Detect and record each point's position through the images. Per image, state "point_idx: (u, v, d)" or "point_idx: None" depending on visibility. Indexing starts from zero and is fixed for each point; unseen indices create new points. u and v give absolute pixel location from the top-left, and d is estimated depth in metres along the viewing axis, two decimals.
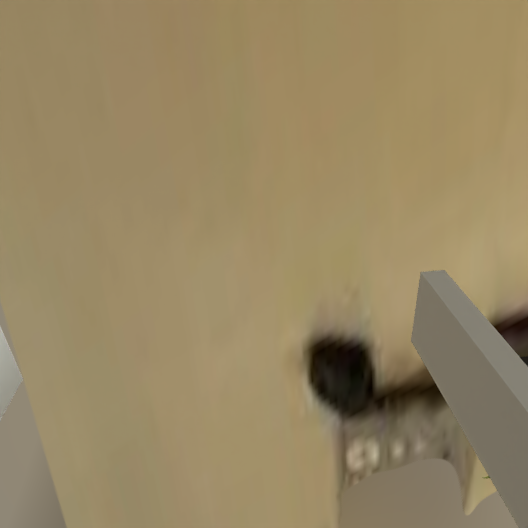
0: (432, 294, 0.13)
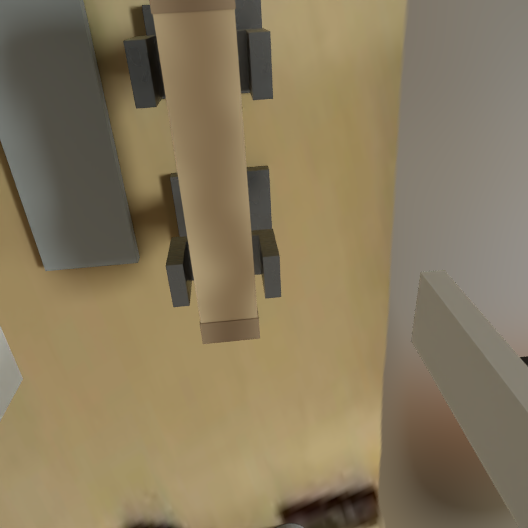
0: (432, 293, 0.13)
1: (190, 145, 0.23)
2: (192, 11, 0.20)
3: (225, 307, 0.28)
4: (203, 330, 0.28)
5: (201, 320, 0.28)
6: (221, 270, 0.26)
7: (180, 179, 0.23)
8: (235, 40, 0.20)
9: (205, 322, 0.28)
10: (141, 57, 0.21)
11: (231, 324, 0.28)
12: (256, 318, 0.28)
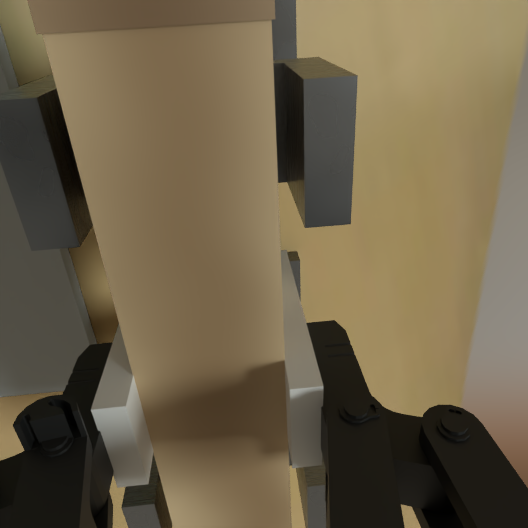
0: None
1: (160, 328, 0.10)
2: (153, 26, 0.07)
3: None
4: None
5: None
6: (228, 521, 0.14)
7: (140, 388, 0.11)
8: (271, 101, 0.08)
9: None
10: (31, 140, 0.08)
11: None
12: None
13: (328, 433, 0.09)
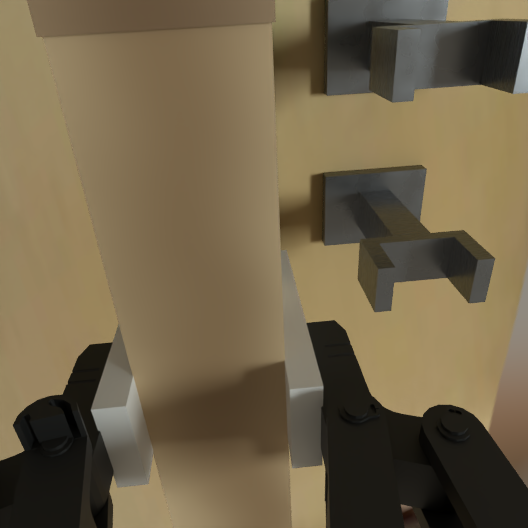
0: None
1: (160, 329, 0.10)
2: (154, 29, 0.07)
3: None
4: None
5: None
6: (228, 522, 0.14)
7: (140, 390, 0.11)
8: (271, 104, 0.08)
9: None
10: (412, 47, 0.20)
11: None
12: None
13: (328, 433, 0.09)
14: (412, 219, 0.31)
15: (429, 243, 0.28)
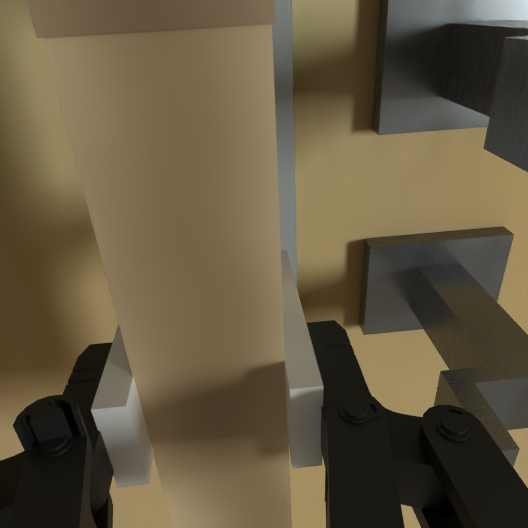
0: None
1: (160, 330, 0.10)
2: (154, 30, 0.07)
3: None
4: None
5: None
6: (228, 523, 0.14)
7: (141, 391, 0.11)
8: (271, 105, 0.08)
9: None
10: None
11: None
12: None
13: (328, 433, 0.09)
14: (512, 327, 0.20)
15: None
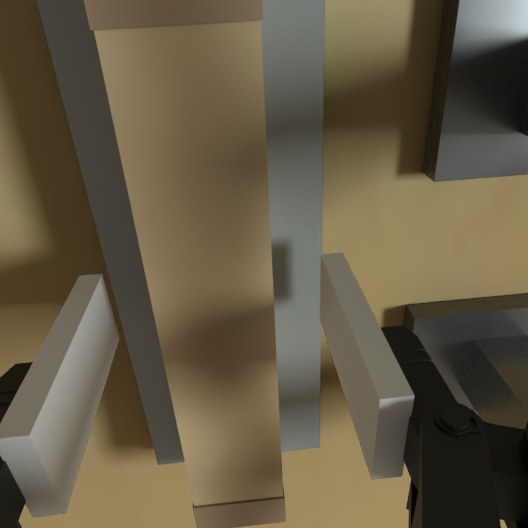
0: (326, 273, 0.14)
1: (174, 264, 0.13)
2: (174, 24, 0.10)
3: (233, 485, 0.18)
4: (198, 515, 0.18)
5: (195, 502, 0.18)
6: (227, 440, 0.16)
7: (157, 316, 0.13)
8: (260, 81, 0.10)
9: (201, 505, 0.18)
10: None
11: (242, 506, 0.18)
12: (281, 498, 0.18)
13: (423, 440, 0.09)
14: None
15: None
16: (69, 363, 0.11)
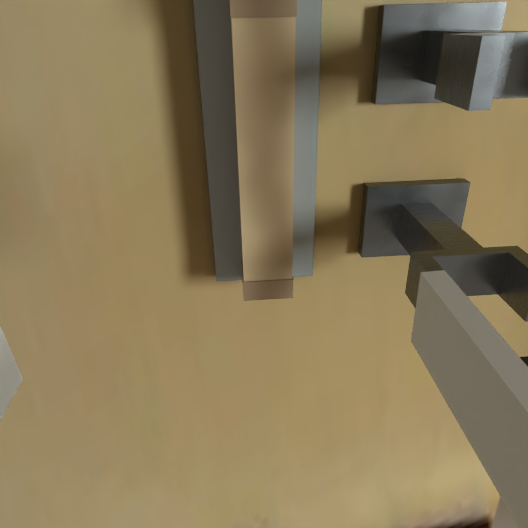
0: (432, 294, 0.13)
1: (250, 125, 0.28)
2: (262, 17, 0.25)
3: (266, 268, 0.33)
4: (245, 288, 0.33)
5: (244, 279, 0.33)
6: (265, 235, 0.31)
7: (239, 154, 0.29)
8: (294, 41, 0.26)
9: (247, 281, 0.33)
10: (494, 54, 0.19)
11: (269, 283, 0.33)
12: (291, 279, 0.33)
13: None
14: (461, 233, 0.30)
15: (483, 258, 0.27)
16: None
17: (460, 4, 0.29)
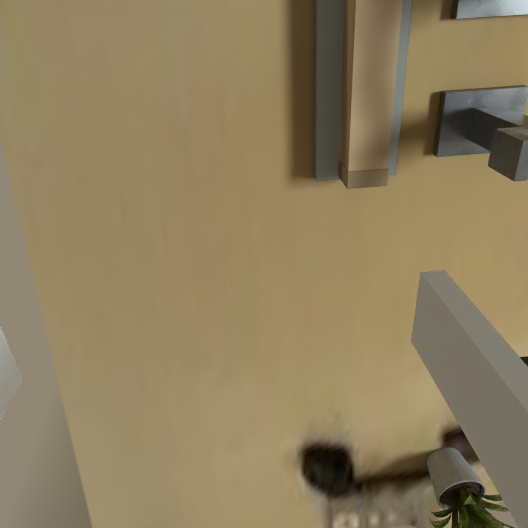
0: (432, 293, 0.13)
1: (365, 32, 0.35)
2: None
3: (367, 159, 0.40)
4: (349, 177, 0.41)
5: (349, 169, 0.40)
6: (369, 129, 0.39)
7: (354, 57, 0.36)
8: None
9: (351, 171, 0.41)
10: None
11: (369, 173, 0.41)
12: (386, 169, 0.41)
13: None
14: None
15: None
16: None
17: None
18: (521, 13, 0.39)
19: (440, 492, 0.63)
